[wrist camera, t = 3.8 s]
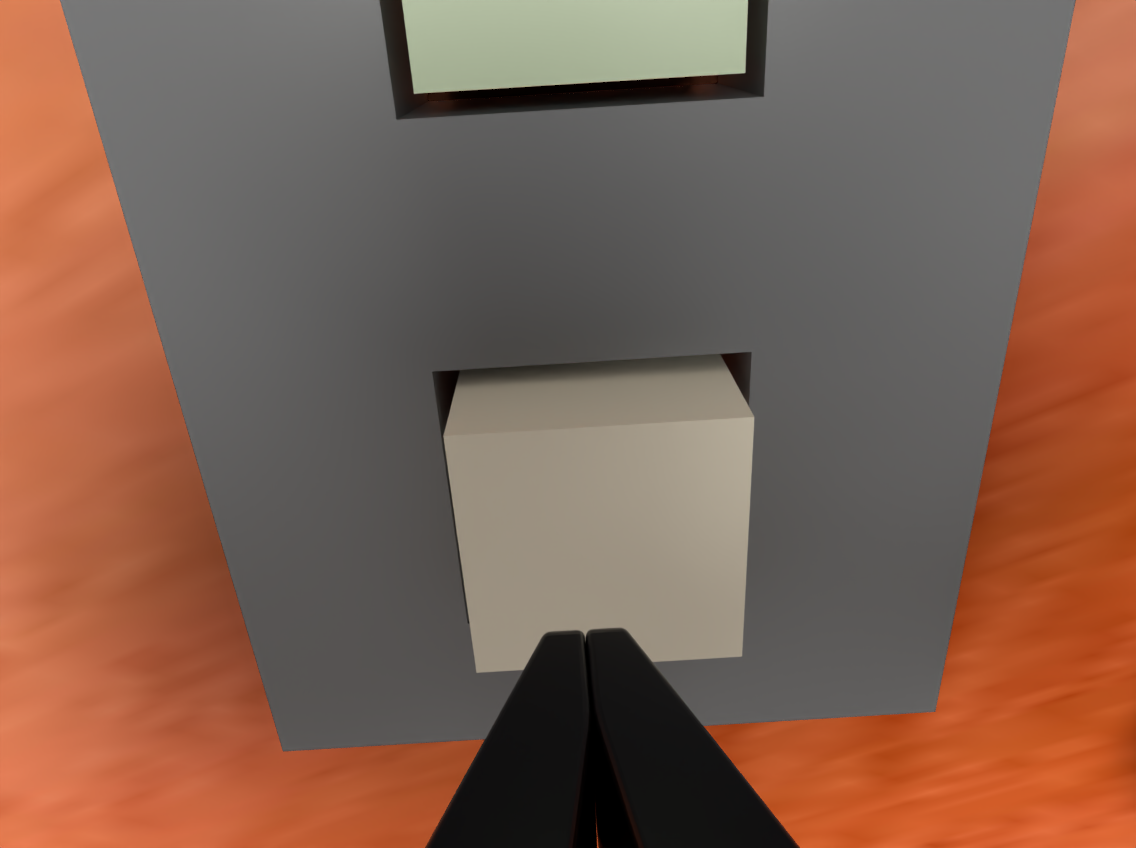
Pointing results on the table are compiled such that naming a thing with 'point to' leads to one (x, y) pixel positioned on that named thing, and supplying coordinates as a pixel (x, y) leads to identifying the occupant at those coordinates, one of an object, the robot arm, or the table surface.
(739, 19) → the sage button
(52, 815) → the table surface
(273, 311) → the console
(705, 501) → the cream button
